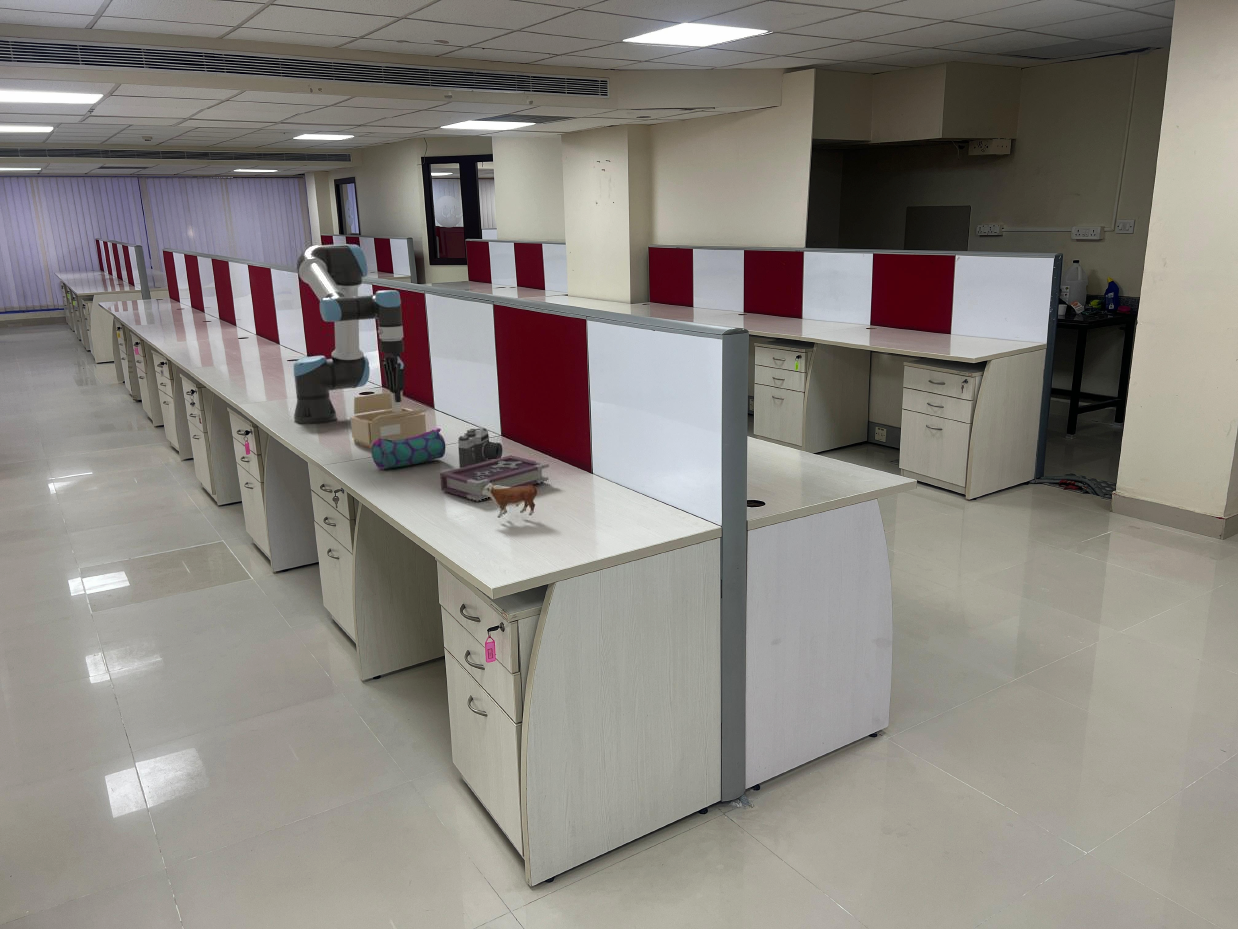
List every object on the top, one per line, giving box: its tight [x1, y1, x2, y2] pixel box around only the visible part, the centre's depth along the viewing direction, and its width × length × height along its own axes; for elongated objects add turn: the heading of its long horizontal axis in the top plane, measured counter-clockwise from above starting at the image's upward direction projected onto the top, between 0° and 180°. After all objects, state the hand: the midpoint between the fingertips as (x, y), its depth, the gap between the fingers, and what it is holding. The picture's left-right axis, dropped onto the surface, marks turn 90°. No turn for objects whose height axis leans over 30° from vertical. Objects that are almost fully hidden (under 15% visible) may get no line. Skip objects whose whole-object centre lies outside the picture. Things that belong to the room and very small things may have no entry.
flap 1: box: [353, 391, 403, 415], centre depth 300 cm, size 1×17×6 cm, turn 129°
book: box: [439, 455, 550, 501], centre depth 245 cm, size 25×16×5 cm, turn 137°
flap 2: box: [373, 407, 430, 421], centre depth 288 cm, size 1×17×6 cm
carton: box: [350, 407, 427, 450], centre depth 297 cm, size 15×21×9 cm
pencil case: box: [370, 427, 446, 470], centre depth 268 cm, size 21×9×10 cm, turn 129°
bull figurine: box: [482, 483, 538, 519], centre depth 217 cm, size 4×13×8 cm, turn 95°
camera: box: [457, 426, 504, 468], centre depth 267 cm, size 16×10×10 cm, turn 164°
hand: (397, 411), depth 290 cm, fingers closed
